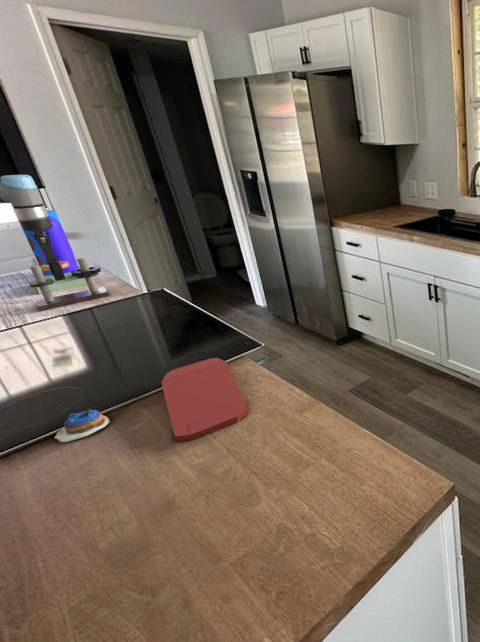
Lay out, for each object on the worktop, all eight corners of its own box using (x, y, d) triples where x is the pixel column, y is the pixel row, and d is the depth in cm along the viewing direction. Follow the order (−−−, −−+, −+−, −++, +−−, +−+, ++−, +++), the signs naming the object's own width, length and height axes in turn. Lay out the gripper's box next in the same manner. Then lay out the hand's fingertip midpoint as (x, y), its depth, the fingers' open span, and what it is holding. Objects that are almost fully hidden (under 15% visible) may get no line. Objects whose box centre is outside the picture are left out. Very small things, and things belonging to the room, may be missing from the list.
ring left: (36, 270, 153) (34, 267, 152) (53, 264, 160) (52, 261, 159) (57, 270, 154) (55, 266, 153) (74, 264, 160) (72, 260, 160)
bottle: (53, 276, 169) (21, 203, 158) (81, 271, 175) (52, 200, 164) (52, 281, 164) (18, 205, 153) (81, 275, 169) (51, 202, 158)
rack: (40, 312, 135) (20, 270, 130) (39, 306, 140) (20, 265, 135) (109, 296, 147) (94, 258, 142) (106, 291, 152) (91, 254, 147)
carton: (253, 428, 87) (226, 367, 102) (249, 411, 85) (221, 351, 100) (183, 458, 79) (164, 386, 95) (175, 440, 77) (158, 370, 92)
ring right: (66, 277, 141) (64, 273, 140) (84, 270, 147) (82, 266, 147) (89, 276, 141) (87, 272, 141) (106, 269, 148) (104, 265, 148)
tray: (37, 285, 159) (34, 278, 158) (84, 276, 168) (82, 270, 167) (39, 294, 150) (36, 287, 149) (89, 284, 159) (86, 278, 158)
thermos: (36, 274, 171) (9, 215, 162) (67, 266, 181) (43, 210, 172) (55, 276, 169) (28, 216, 160) (85, 268, 178) (62, 211, 169)
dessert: (121, 413, 85) (94, 404, 80) (105, 446, 82) (76, 439, 77) (85, 415, 86) (56, 406, 81) (67, 448, 82) (36, 441, 77)
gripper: (51, 220, 146) (76, 280, 155) (47, 213, 158) (71, 269, 167) (19, 224, 141) (47, 286, 149) (18, 216, 153) (44, 274, 162)
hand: (59, 277), depth 158 cm, fingers closed on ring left, 7 cm apart
